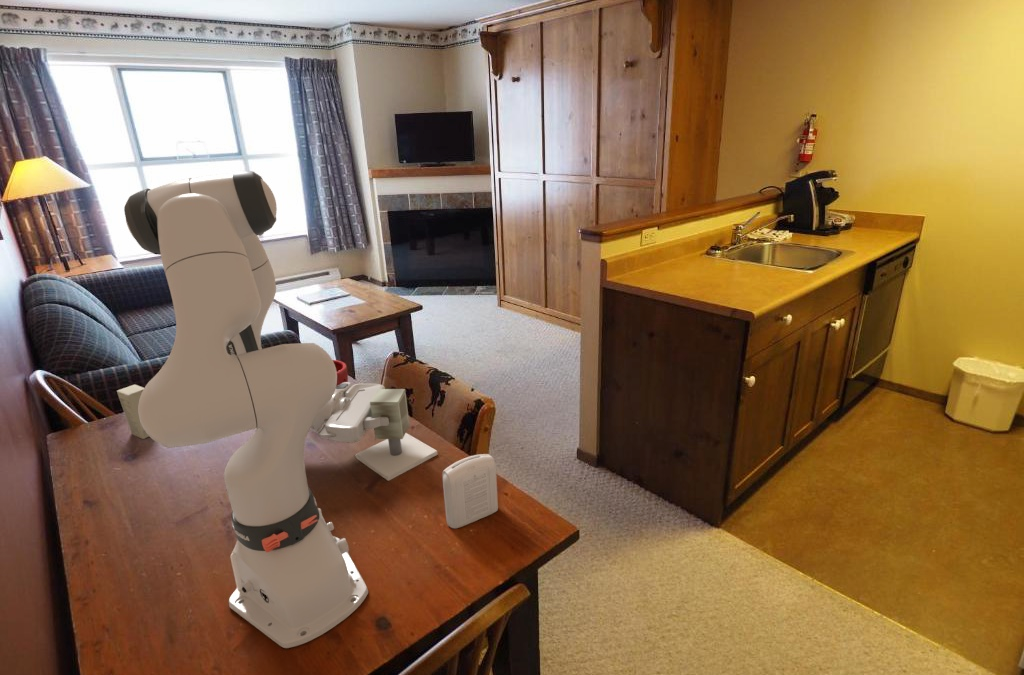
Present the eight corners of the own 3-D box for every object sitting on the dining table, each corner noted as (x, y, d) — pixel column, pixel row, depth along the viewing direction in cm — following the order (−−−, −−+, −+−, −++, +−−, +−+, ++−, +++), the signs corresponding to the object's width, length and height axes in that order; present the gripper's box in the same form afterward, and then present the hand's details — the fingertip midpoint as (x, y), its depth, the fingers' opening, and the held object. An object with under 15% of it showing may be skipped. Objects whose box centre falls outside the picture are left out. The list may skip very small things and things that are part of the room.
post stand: (437, 454, 121) (434, 422, 118) (388, 480, 113) (383, 446, 110) (403, 434, 130) (399, 404, 127) (355, 458, 121) (350, 425, 119)
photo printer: (490, 499, 106) (486, 444, 101) (502, 511, 102) (498, 455, 98) (442, 520, 101) (436, 463, 96) (453, 533, 97) (447, 475, 93)
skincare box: (161, 432, 136) (147, 388, 132) (142, 440, 133) (128, 395, 129) (148, 425, 140) (135, 383, 135) (130, 433, 136) (115, 390, 132)
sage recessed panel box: (375, 438, 117) (369, 401, 114) (383, 424, 122) (378, 389, 119) (402, 439, 116) (397, 402, 113) (409, 424, 122) (405, 389, 119)
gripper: (309, 423, 108) (377, 423, 107) (346, 378, 127) (404, 378, 126) (315, 450, 110) (381, 450, 109) (350, 402, 129) (407, 402, 128)
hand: (394, 411), depth 118 cm, fingers closed on sage recessed panel box, 6 cm apart
